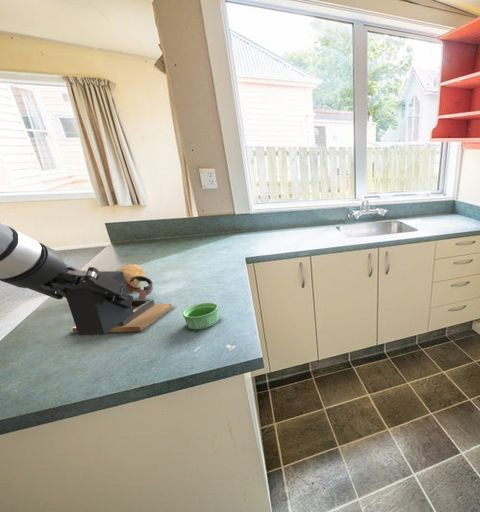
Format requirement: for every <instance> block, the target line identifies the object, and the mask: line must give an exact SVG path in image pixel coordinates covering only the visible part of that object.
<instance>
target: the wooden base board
mask: <svg viewBox="0 0 480 512" xmlns="http://www.w3.org/2000/svg"><path fill="white" fill-rule="evenodd" d="M131 305H132V309H133V313H134V314H133V315H131V316H130V317H128V318H127V319H126V320H124V321H123V322H121V323H120V324H119V325H117V326H116V327H114V328H113V329H112V330H110V331H109V332H108V333H127V332H129V333H130V332H131V333H132V332H142V331H144V330H145V329H146V328H147V327H149V326H150V325H152V324H153V323H154V322H155V321H157V320H158V319H159V318H161V317H162V316H164V314H166V313H168V312H169V311H170V310H171V309H172V308H173V305H172V303H155V301H154V298H153V299H152V298H150V299H149V298H148V299H147V298H146V299H145V298H144V299H133V301H132V304H131ZM71 329H72V332H73V333H74V334H78V332H77V329H76V326H74V327H72V328H71Z"/></svg>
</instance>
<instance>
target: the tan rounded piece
mask: <svg viewBox="0 0 480 512" xmlns="http://www.w3.org/2000/svg"><path fill="white" fill-rule="evenodd" d="M115 271H123V274H124V278H125V281H126V280H127V279H128V278H129V277H132V276H143V277H145V274H146V273H145V271H144V269H143V268H142V267H141V266H140V265H138V264H135V263H131V264H125V265H123V266H121V267H120V268H118V269H116V270H115ZM141 282H142V281H138V280H137V279H135V280H134V281H132V282H131V284H132V285H134V286H138V285H139V284H141Z"/></svg>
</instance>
